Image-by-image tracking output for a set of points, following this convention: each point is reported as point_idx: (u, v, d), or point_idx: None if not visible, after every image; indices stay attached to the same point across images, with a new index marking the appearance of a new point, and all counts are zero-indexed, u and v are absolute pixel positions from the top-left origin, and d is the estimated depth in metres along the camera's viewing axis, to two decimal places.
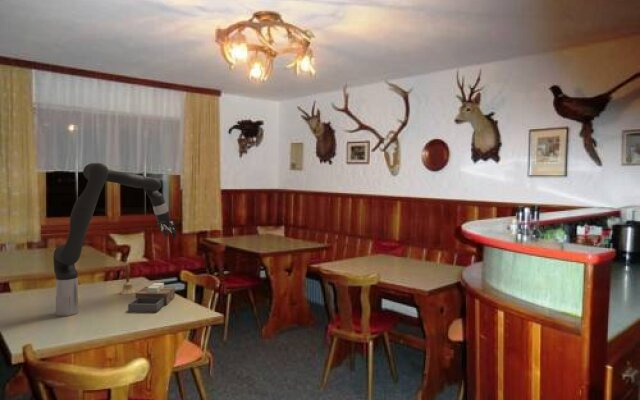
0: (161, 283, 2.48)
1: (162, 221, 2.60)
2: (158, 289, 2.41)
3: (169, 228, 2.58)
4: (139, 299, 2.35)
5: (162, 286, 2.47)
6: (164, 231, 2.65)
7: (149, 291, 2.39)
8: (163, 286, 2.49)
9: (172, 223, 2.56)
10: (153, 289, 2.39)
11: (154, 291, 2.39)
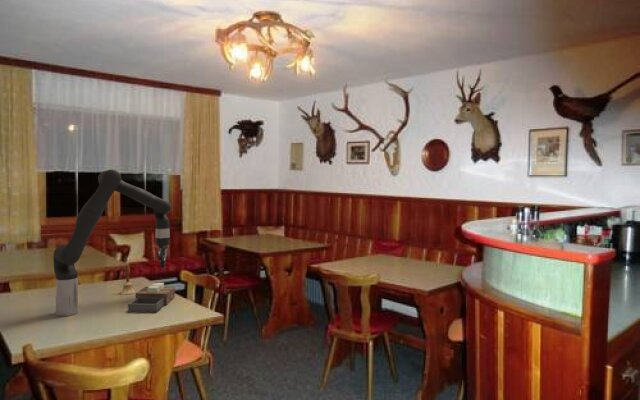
0: (161, 283, 2.48)
1: None
2: (158, 289, 2.41)
3: None
4: (139, 299, 2.35)
5: (162, 286, 2.47)
6: None
7: (149, 291, 2.39)
8: (163, 286, 2.49)
9: (159, 254, 2.49)
10: (153, 289, 2.39)
11: (154, 291, 2.39)
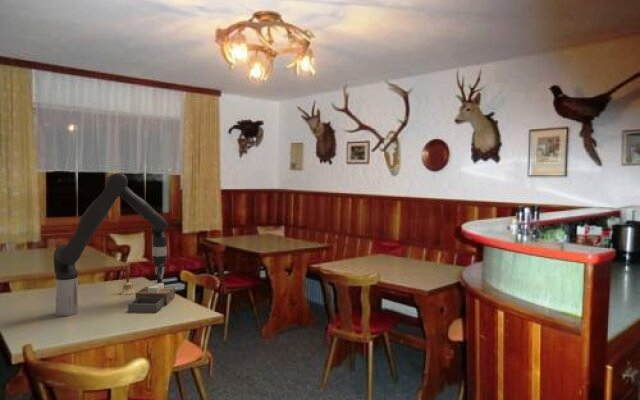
0: (161, 283, 2.48)
1: None
2: (158, 289, 2.41)
3: None
4: (139, 299, 2.35)
5: (162, 286, 2.47)
6: None
7: (149, 291, 2.39)
8: (163, 286, 2.48)
9: (156, 273, 2.45)
10: (153, 289, 2.39)
11: (154, 291, 2.39)
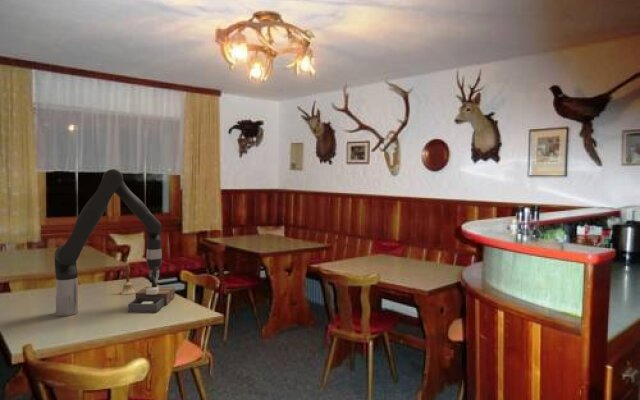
0: (156, 287, 2.39)
1: None
2: None
3: None
4: (139, 299, 2.35)
5: (157, 290, 2.38)
6: None
7: None
8: (158, 290, 2.40)
9: (150, 277, 2.36)
10: None
11: None
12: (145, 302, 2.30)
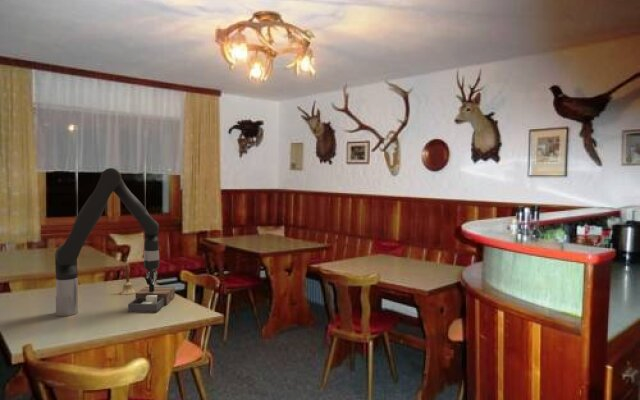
0: (153, 298, 2.33)
1: None
2: None
3: None
4: (139, 299, 2.35)
5: (156, 300, 2.35)
6: None
7: None
8: (156, 297, 2.35)
9: (148, 279, 2.32)
10: None
11: None
12: (145, 302, 2.30)
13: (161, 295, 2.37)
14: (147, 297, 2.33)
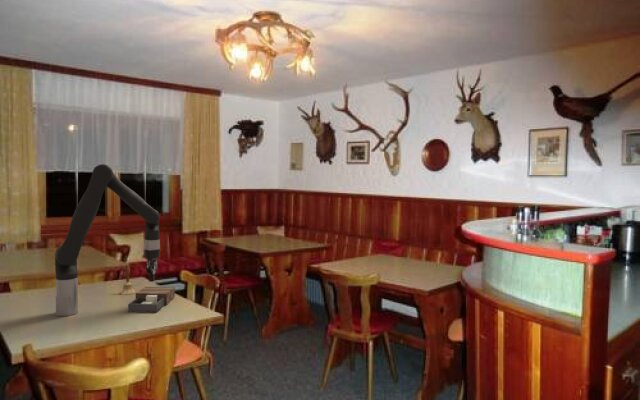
0: (153, 298, 2.33)
1: None
2: None
3: None
4: (139, 299, 2.35)
5: (156, 300, 2.35)
6: None
7: None
8: (156, 297, 2.35)
9: (148, 268, 2.31)
10: None
11: None
12: (145, 302, 2.30)
13: (161, 295, 2.37)
14: (147, 297, 2.33)
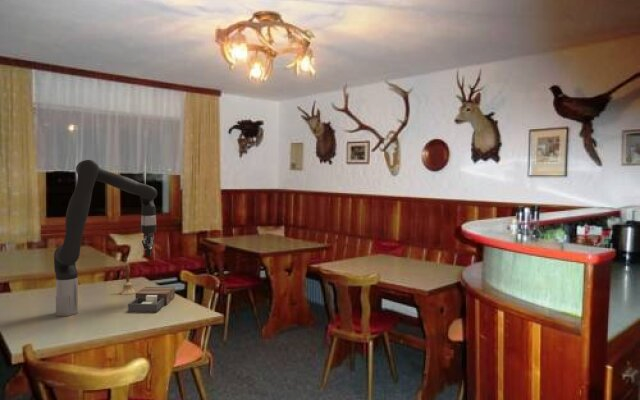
0: (153, 298, 2.33)
1: None
2: None
3: None
4: (139, 299, 2.35)
5: (156, 300, 2.35)
6: None
7: None
8: (156, 297, 2.35)
9: (144, 242, 2.38)
10: None
11: None
12: (145, 302, 2.30)
13: (161, 295, 2.37)
14: (147, 297, 2.33)
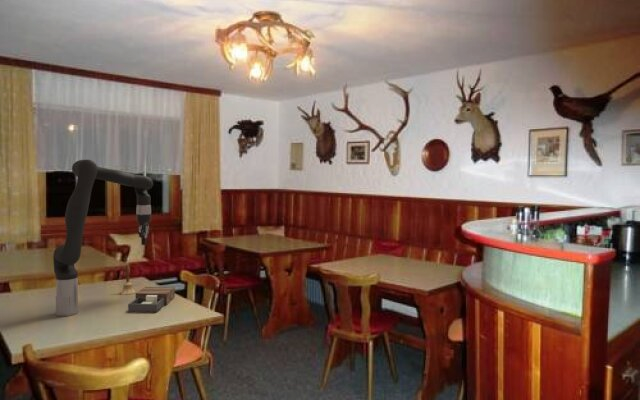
0: (153, 298, 2.33)
1: None
2: None
3: None
4: (139, 299, 2.35)
5: (156, 300, 2.35)
6: None
7: None
8: (156, 297, 2.35)
9: (140, 231, 2.44)
10: None
11: None
12: (145, 302, 2.30)
13: (161, 295, 2.37)
14: (147, 297, 2.33)
